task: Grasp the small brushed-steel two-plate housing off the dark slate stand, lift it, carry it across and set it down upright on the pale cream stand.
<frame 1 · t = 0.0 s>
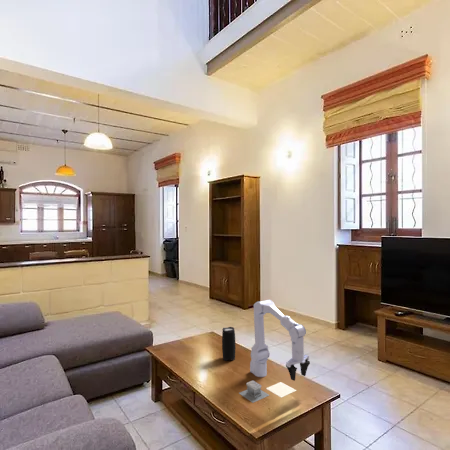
hand: (298, 377, 156), 10 cm above the table, fingers open, 7 cm apart
housing: (254, 394, 157), point 1 cm above the table, touching stand a
stand a: (254, 397, 157), on the table
portable speaker: (229, 359, 203), on the table
stand b: (281, 392, 162), on the table
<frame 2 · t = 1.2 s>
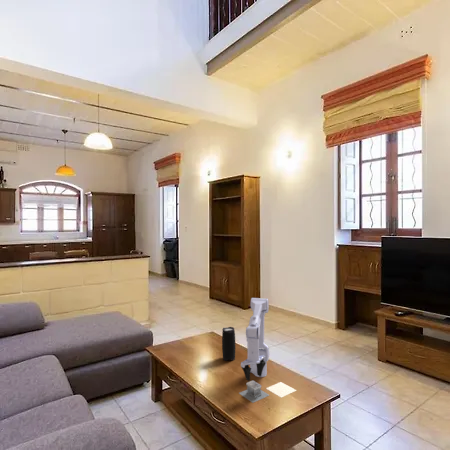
hand: (253, 377, 157), 10 cm above the table, fingers open, 7 cm apart
nothing on the table moved.
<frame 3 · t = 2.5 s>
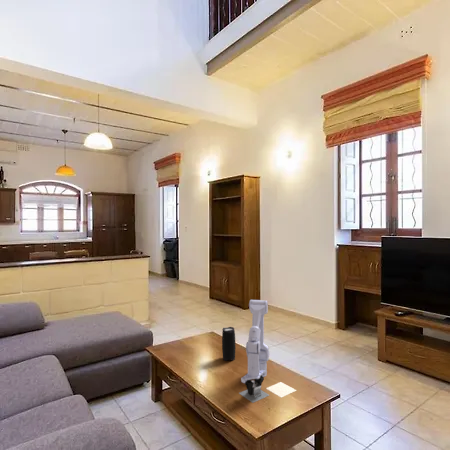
hand: (253, 392, 157), 2 cm above the table, fingers closed on housing, 4 cm apart
housing: (254, 394, 157), point 1 cm above the table, touching gripper, stand a
everything else where it was.
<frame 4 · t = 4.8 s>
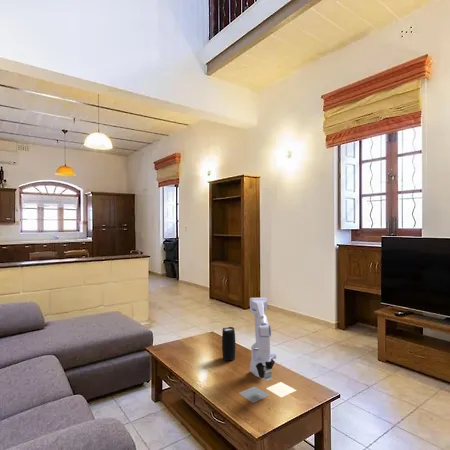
hand: (264, 375, 159), 10 cm above the table, fingers closed on housing, 4 cm apart
housing: (264, 377, 159), point 9 cm above the table, touching gripper
everything else where it was.
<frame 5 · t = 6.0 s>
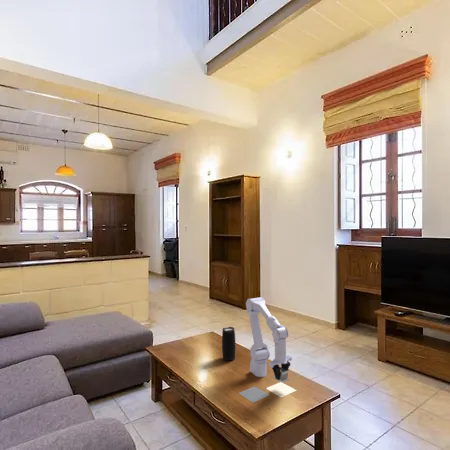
hand: (280, 377, 162), 8 cm above the table, fingers closed on housing, 4 cm apart
housing: (281, 379, 162), point 7 cm above the table, touching gripper
everything else where it was.
when the fingers open (3 cm above the table, at t = 7.2 s): housing stays where it is, resting on stand b.
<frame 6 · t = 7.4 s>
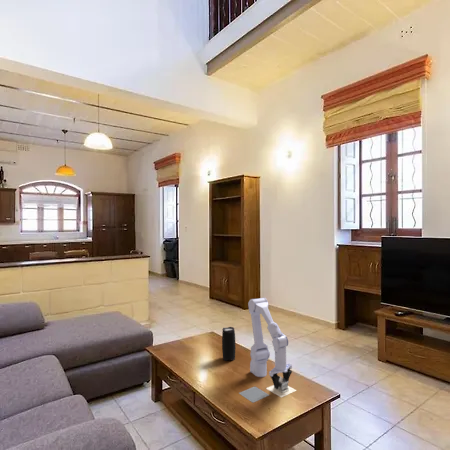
hand: (281, 386, 162), 3 cm above the table, fingers open, 6 cm apart
housing: (281, 389, 162), point 1 cm above the table, touching stand b
everything else where it was.
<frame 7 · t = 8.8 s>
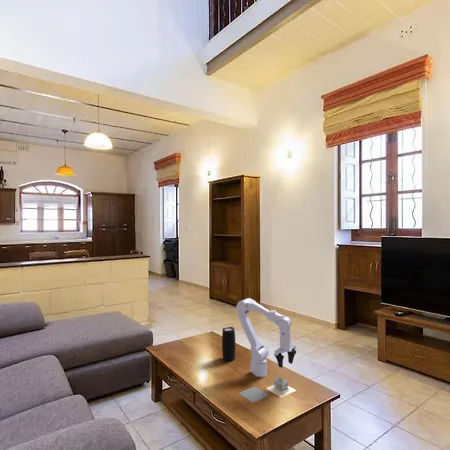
hand: (285, 365, 171), 10 cm above the table, fingers open, 7 cm apart
nothing on the table moved.
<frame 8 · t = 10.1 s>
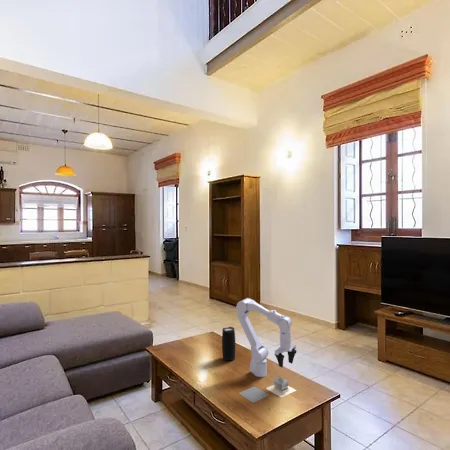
hand: (285, 364, 171), 10 cm above the table, fingers open, 7 cm apart
nothing on the table moved.
at the end: housing inside the target area on the stand b (0.1 cm from its centre), point 1.5 cm above the stand b's base; housing tilted 0°; the gripper is holding nothing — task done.
